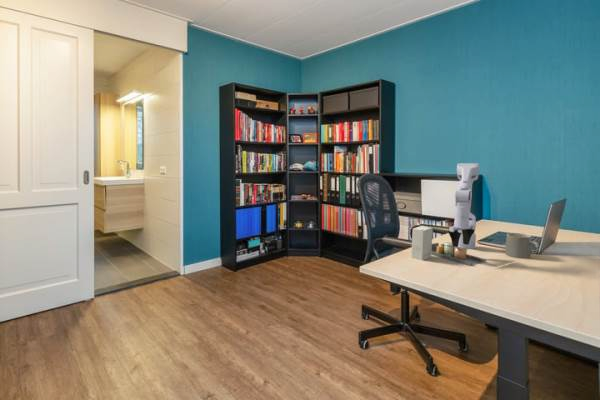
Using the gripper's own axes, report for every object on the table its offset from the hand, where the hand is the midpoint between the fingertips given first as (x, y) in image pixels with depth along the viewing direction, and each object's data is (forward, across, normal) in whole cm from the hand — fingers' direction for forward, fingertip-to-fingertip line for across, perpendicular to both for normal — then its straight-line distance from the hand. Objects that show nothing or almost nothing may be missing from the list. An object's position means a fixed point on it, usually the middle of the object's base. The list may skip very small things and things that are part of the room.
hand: (460, 245), depth 152 cm
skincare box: (+7, -14, +10) cm, 19 cm away
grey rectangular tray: (+7, 0, +4) cm, 8 cm away
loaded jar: (+6, 0, +6) cm, 8 cm away
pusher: (+7, 0, +9) cm, 11 cm away
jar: (+6, 0, 0) cm, 6 cm away
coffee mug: (+7, +30, -11) cm, 33 cm away
